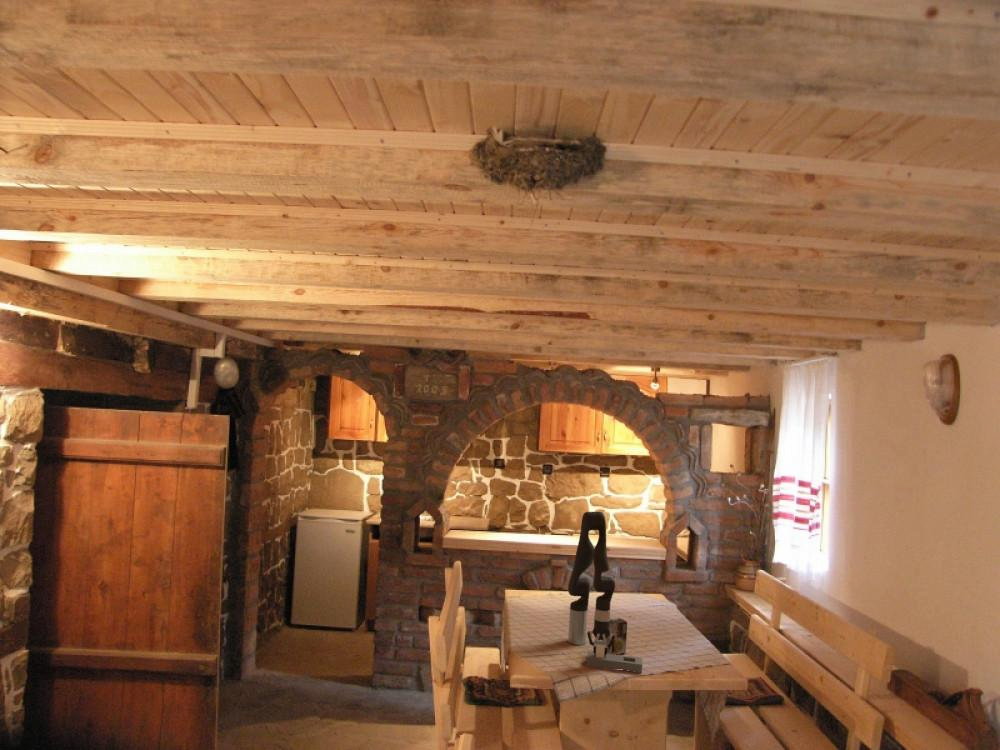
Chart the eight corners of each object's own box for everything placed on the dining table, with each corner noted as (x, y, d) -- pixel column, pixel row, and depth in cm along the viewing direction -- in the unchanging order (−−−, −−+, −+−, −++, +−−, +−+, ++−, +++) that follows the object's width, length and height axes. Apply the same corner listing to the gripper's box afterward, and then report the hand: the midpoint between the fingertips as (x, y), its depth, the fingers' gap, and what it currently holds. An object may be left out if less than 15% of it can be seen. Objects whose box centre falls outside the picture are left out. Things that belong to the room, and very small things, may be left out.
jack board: (587, 659, 371) (588, 651, 372) (641, 666, 367) (641, 657, 367) (586, 666, 362) (586, 657, 362) (641, 673, 357) (642, 664, 357)
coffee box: (618, 649, 390) (620, 617, 390) (626, 653, 384) (628, 621, 385) (603, 651, 386) (605, 619, 386) (611, 655, 380) (613, 622, 381)
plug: (595, 662, 368) (596, 640, 368) (603, 663, 367) (605, 641, 367) (595, 665, 364) (596, 642, 364) (603, 666, 363) (604, 643, 364)
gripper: (617, 618, 369) (615, 653, 368) (587, 614, 371) (585, 650, 371) (616, 622, 361) (614, 658, 361) (586, 619, 364) (584, 655, 363)
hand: (600, 654), depth 366 cm, fingers closed on plug, 4 cm apart
